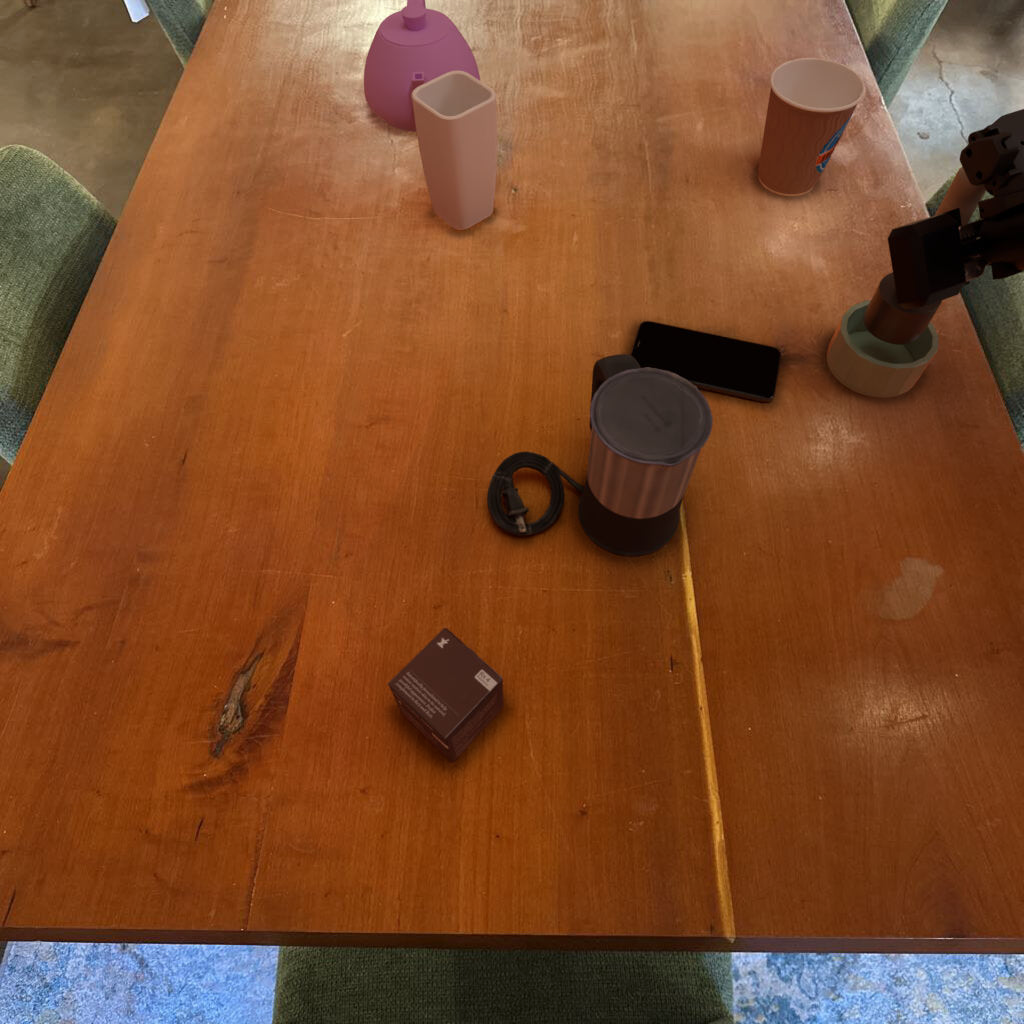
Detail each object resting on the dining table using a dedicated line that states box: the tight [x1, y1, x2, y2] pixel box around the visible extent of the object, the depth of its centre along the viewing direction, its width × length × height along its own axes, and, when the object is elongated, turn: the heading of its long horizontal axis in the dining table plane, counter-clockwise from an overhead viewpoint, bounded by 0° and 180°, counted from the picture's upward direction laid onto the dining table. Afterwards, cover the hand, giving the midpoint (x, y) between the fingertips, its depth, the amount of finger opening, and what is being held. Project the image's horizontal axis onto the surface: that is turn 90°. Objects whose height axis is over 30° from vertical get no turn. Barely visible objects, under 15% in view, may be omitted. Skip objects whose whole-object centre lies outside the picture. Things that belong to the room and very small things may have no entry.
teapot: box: [363, 0, 481, 133], centre depth 99 cm, size 22×16×12 cm
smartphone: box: [629, 320, 782, 403], centre depth 79 cm, size 7×1×15 cm
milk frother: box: [486, 353, 714, 557], centre depth 64 cm, size 14×16×15 cm
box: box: [387, 627, 504, 763], centre depth 58 cm, size 6×6×7 cm
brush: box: [863, 166, 987, 345], centre depth 67 cm, size 6×6×16 cm
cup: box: [412, 71, 498, 231], centre depth 86 cm, size 7×7×15 cm
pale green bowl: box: [826, 299, 940, 399], centre depth 77 cm, size 9×9×4 cm
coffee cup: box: [757, 57, 866, 197], centre depth 89 cm, size 10×10×12 cm
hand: (918, 251), depth 68 cm, fingers closed on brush, 2 cm apart
